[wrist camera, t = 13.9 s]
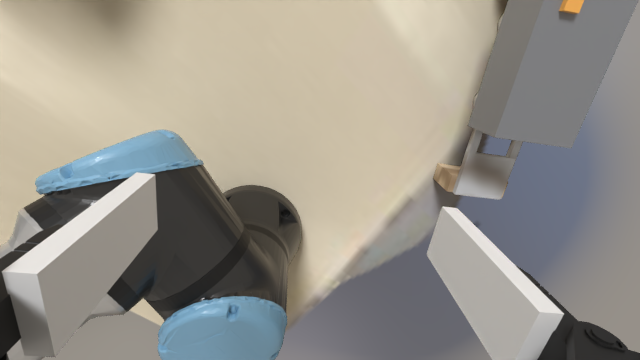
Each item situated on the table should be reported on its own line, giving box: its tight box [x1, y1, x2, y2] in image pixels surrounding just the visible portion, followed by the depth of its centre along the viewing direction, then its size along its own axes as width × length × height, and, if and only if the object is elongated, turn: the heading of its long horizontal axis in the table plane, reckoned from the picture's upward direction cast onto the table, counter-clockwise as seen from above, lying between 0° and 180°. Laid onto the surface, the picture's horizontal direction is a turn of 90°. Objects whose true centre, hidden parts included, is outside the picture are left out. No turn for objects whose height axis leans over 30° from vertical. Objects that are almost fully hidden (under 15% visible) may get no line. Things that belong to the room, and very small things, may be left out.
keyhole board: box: [433, 128, 523, 200], centre depth 42 cm, size 30×8×6 cm, turn 172°
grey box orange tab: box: [468, 0, 638, 148], centre depth 38 cm, size 16×9×12 cm, turn 172°
